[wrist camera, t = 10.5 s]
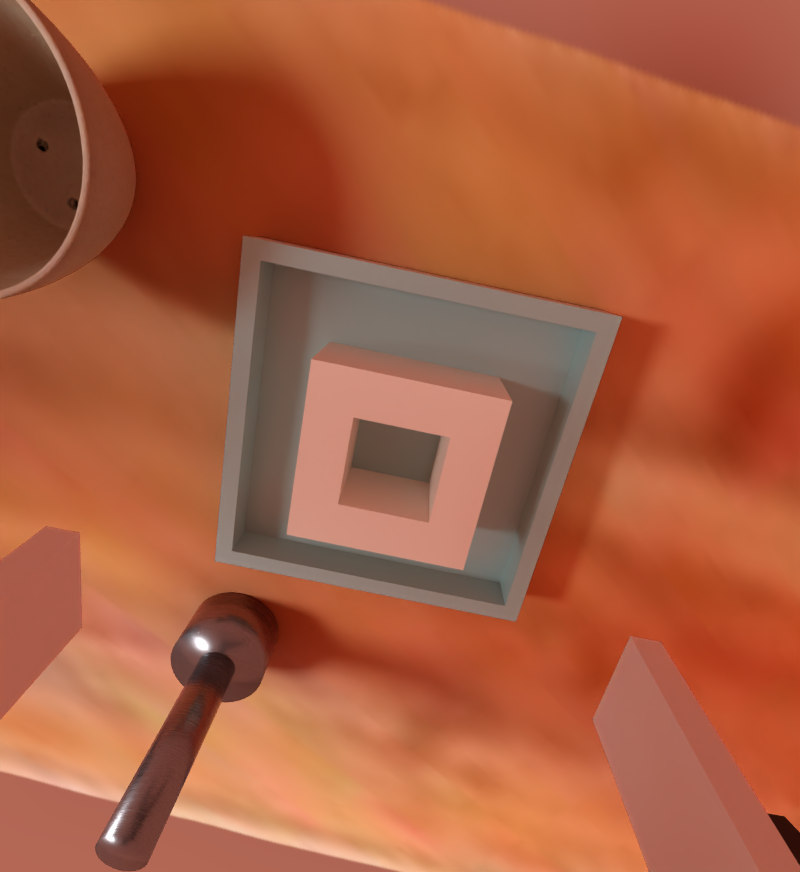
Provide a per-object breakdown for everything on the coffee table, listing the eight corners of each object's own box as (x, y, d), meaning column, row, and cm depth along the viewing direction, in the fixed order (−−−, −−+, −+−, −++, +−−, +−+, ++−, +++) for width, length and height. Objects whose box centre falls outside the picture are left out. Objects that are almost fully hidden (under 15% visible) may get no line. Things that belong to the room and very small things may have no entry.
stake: (192, 652, 31) (57, 882, 20) (197, 585, 29) (52, 795, 18) (273, 668, 31) (185, 906, 20) (283, 602, 29) (192, 822, 18)
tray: (232, 536, 28) (214, 561, 26) (261, 237, 23) (242, 235, 20) (508, 592, 28) (516, 621, 26) (603, 310, 23) (622, 316, 21)
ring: (306, 493, 26) (286, 534, 22) (329, 341, 23) (311, 358, 20) (458, 524, 26) (463, 570, 23) (499, 377, 24) (512, 401, 20)
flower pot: (238, 205, 22) (155, 185, 15) (78, 329, 24) (-56, 358, 18) (77, -34, 20) (-107, -184, 13) (-86, 129, 22) (-315, 74, 15)
